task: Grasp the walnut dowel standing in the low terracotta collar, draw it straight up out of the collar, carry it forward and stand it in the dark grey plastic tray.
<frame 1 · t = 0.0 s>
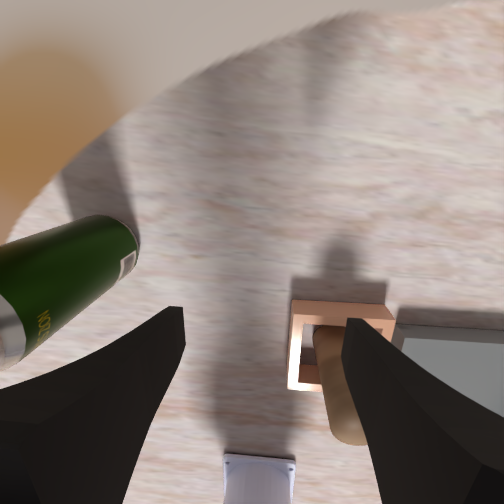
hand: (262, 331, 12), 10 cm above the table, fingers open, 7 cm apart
dowel: (332, 339, 23), resting in collar
beer can: (112, 243, 22), on the table
tray: (450, 383, 24), on the table
collar: (332, 339, 23), on the table
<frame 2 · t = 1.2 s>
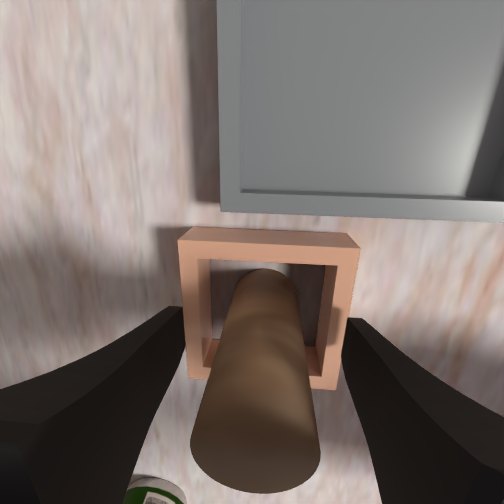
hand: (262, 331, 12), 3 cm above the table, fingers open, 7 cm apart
dowel: (265, 297, 14), resting in collar
beer can: (158, 493, 22), on the table
tray: (379, 55, 10), on the table
collar: (265, 297, 14), on the table
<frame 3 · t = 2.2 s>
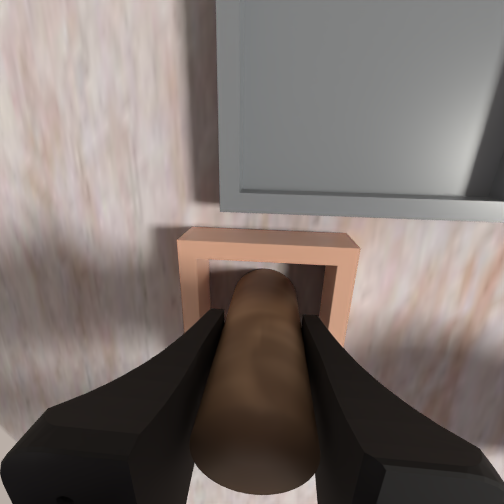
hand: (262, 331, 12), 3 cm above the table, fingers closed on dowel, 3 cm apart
dowel: (264, 297, 14), resting in collar, touching gripper
tray: (379, 54, 10), on the table
collar: (264, 297, 14), on the table
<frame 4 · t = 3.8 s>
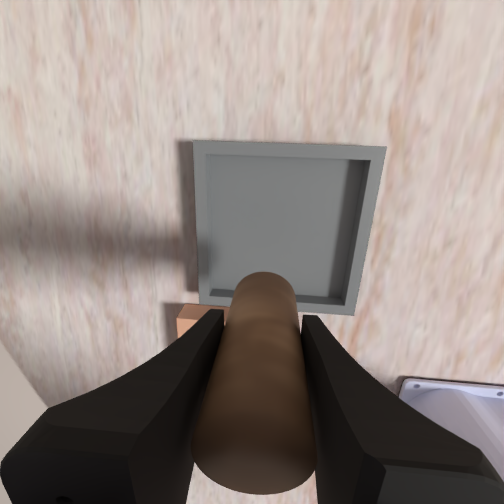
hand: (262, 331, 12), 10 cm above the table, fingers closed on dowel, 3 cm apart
dowel: (264, 299, 15), point 7 cm above the table, touching gripper
tray: (280, 229, 20), on the table
collar: (227, 342, 24), on the table
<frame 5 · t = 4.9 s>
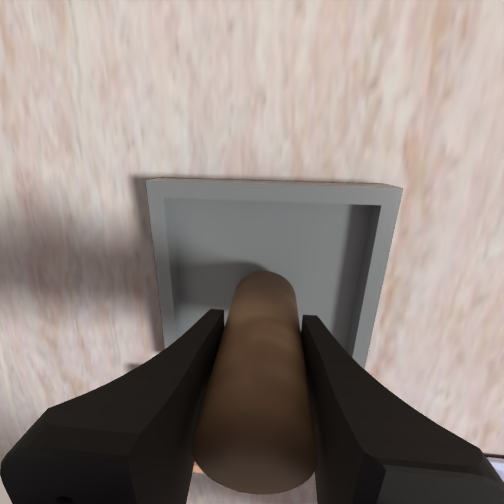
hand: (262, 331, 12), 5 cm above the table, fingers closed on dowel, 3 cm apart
dowel: (264, 299, 15), point 2 cm above the table, touching gripper
tray: (266, 282, 16), on the table
when the fingers open (4 cm above the table, at t = 5.7 s): dowel stays where it is, resting on tray.
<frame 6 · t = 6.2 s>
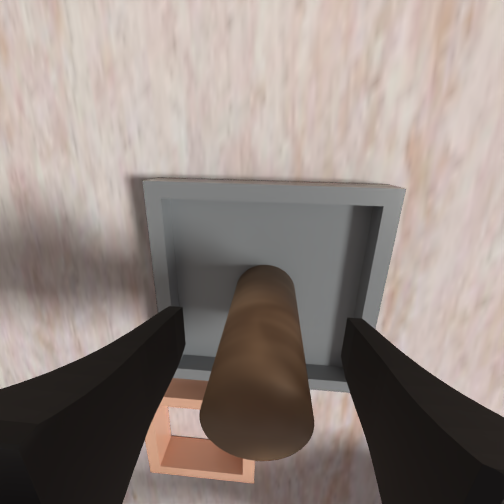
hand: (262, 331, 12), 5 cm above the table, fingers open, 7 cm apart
dowel: (265, 291, 15), point 1 cm above the table, touching tray
tray: (265, 284, 16), on the table
collar: (206, 412, 20), on the table
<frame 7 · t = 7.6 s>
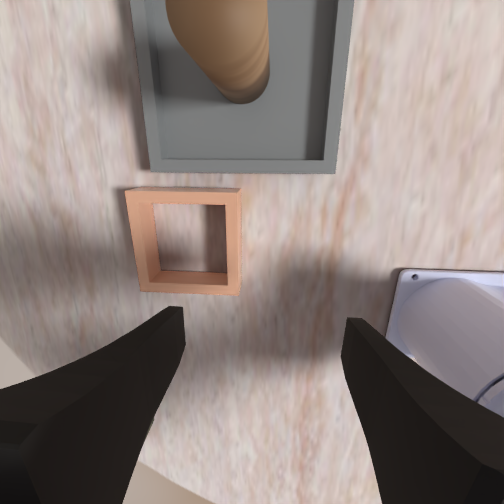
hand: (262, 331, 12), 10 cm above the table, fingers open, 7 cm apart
dowel: (242, 72, 16), point 1 cm above the table, touching tray
tray: (243, 72, 17), on the table
collar: (193, 237, 21), on the table
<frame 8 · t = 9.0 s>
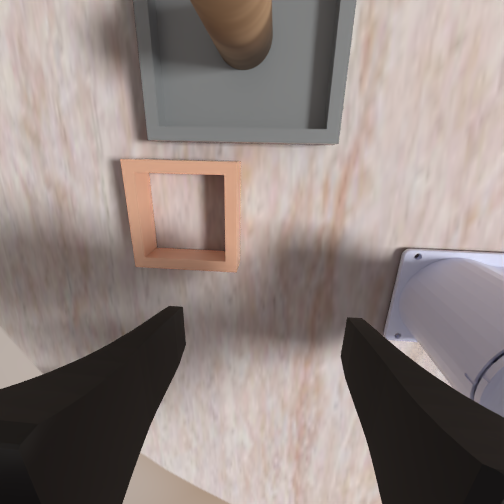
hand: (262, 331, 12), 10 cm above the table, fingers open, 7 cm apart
dowel: (243, 36, 16), point 1 cm above the table, touching tray
tray: (245, 36, 16), on the table
collar: (191, 212, 20), on the table
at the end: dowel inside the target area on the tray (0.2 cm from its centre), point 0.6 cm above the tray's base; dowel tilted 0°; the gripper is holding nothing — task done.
